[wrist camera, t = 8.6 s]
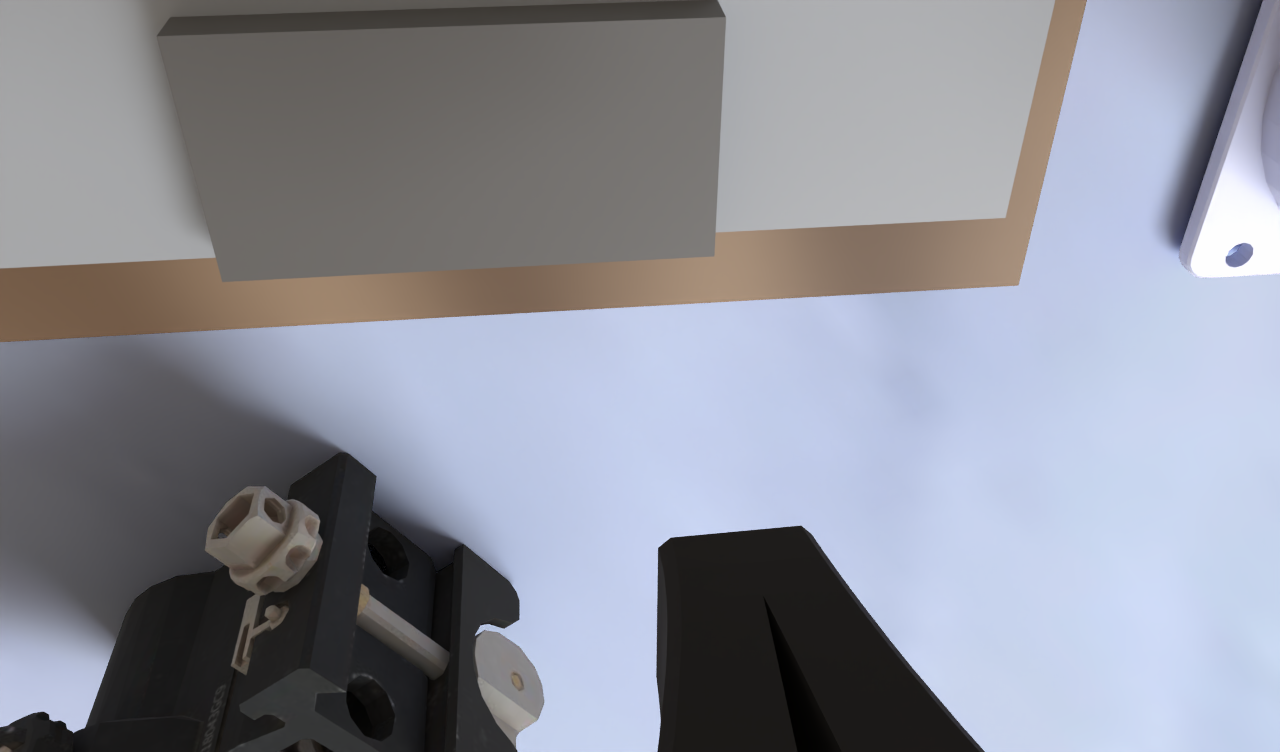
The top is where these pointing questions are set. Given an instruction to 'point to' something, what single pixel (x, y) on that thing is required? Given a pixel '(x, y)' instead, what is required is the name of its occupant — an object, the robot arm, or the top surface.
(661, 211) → the level plate
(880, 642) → the robot arm
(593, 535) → the top surface
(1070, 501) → the top surface
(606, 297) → the wooden pallet
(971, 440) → the top surface
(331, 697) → the scope
